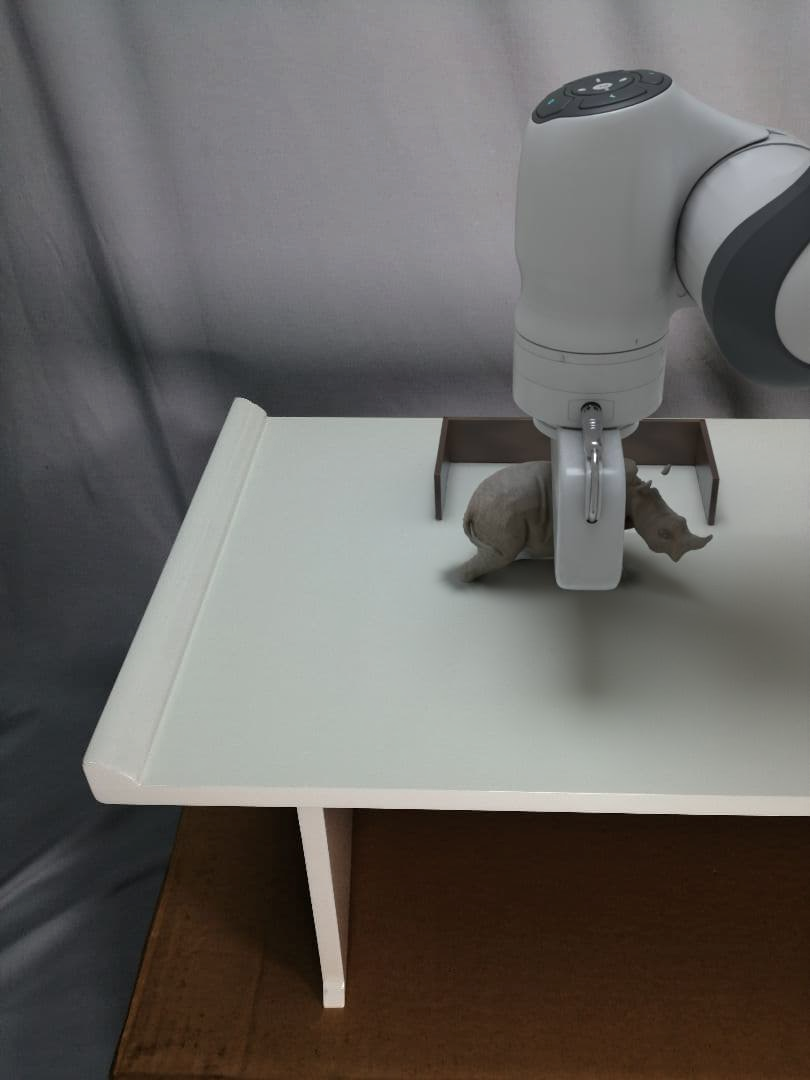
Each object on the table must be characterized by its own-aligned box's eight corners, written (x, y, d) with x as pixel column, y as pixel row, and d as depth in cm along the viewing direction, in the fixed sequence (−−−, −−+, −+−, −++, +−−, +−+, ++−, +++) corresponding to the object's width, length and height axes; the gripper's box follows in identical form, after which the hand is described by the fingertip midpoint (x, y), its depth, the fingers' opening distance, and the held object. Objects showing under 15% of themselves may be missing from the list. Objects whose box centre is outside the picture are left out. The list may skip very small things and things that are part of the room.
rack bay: (700, 462, 96) (705, 418, 94) (714, 524, 88) (719, 478, 86) (444, 458, 98) (443, 416, 96) (435, 519, 90) (433, 474, 88)
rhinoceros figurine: (422, 513, 86) (546, 368, 78) (570, 598, 90) (704, 469, 82) (413, 582, 80) (547, 433, 72) (572, 670, 84) (717, 538, 76)
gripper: (659, 456, 60) (639, 668, 67) (630, 304, 77) (617, 486, 84) (534, 455, 60) (529, 665, 68) (533, 304, 77) (529, 485, 85)
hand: (578, 564), depth 76 cm, fingers closed
